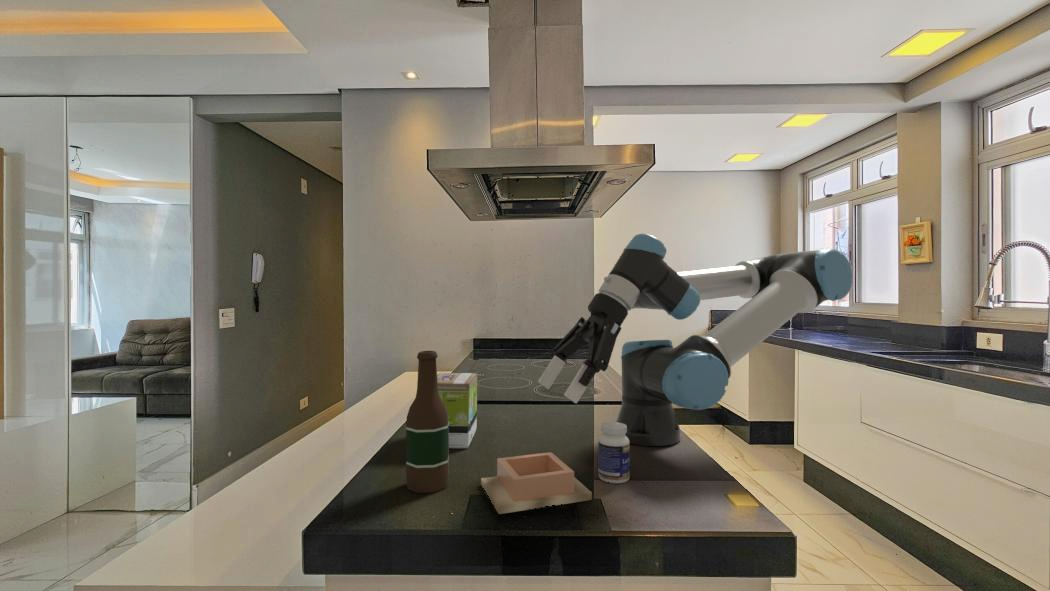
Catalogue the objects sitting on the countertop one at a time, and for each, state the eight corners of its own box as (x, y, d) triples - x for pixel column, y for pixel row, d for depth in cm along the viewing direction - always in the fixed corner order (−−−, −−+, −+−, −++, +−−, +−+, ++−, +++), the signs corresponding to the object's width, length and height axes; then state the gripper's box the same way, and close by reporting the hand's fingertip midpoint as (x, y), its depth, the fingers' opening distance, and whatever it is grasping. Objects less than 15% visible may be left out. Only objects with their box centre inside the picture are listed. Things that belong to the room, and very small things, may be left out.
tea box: (470, 449, 105) (469, 382, 105) (424, 449, 105) (424, 382, 105) (477, 429, 120) (477, 371, 120) (438, 429, 120) (437, 371, 120)
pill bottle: (629, 485, 85) (629, 429, 85) (597, 483, 86) (597, 428, 86) (629, 473, 90) (629, 421, 90) (599, 471, 92) (598, 419, 92)
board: (563, 473, 90) (563, 467, 90) (591, 499, 79) (591, 492, 79) (481, 484, 85) (481, 478, 85) (498, 514, 74) (498, 506, 74)
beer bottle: (411, 497, 80) (411, 355, 80) (401, 481, 87) (400, 350, 87) (456, 489, 84) (455, 352, 84) (442, 474, 91) (441, 348, 90)
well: (551, 470, 89) (551, 452, 89) (574, 492, 79) (574, 471, 79) (497, 477, 85) (497, 458, 85) (514, 501, 76) (514, 479, 76)
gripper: (573, 291, 106) (520, 371, 102) (632, 290, 83) (567, 394, 79) (597, 310, 108) (546, 390, 104) (662, 315, 85) (600, 417, 81)
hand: (555, 392), depth 92 cm, fingers open, 13 cm apart
